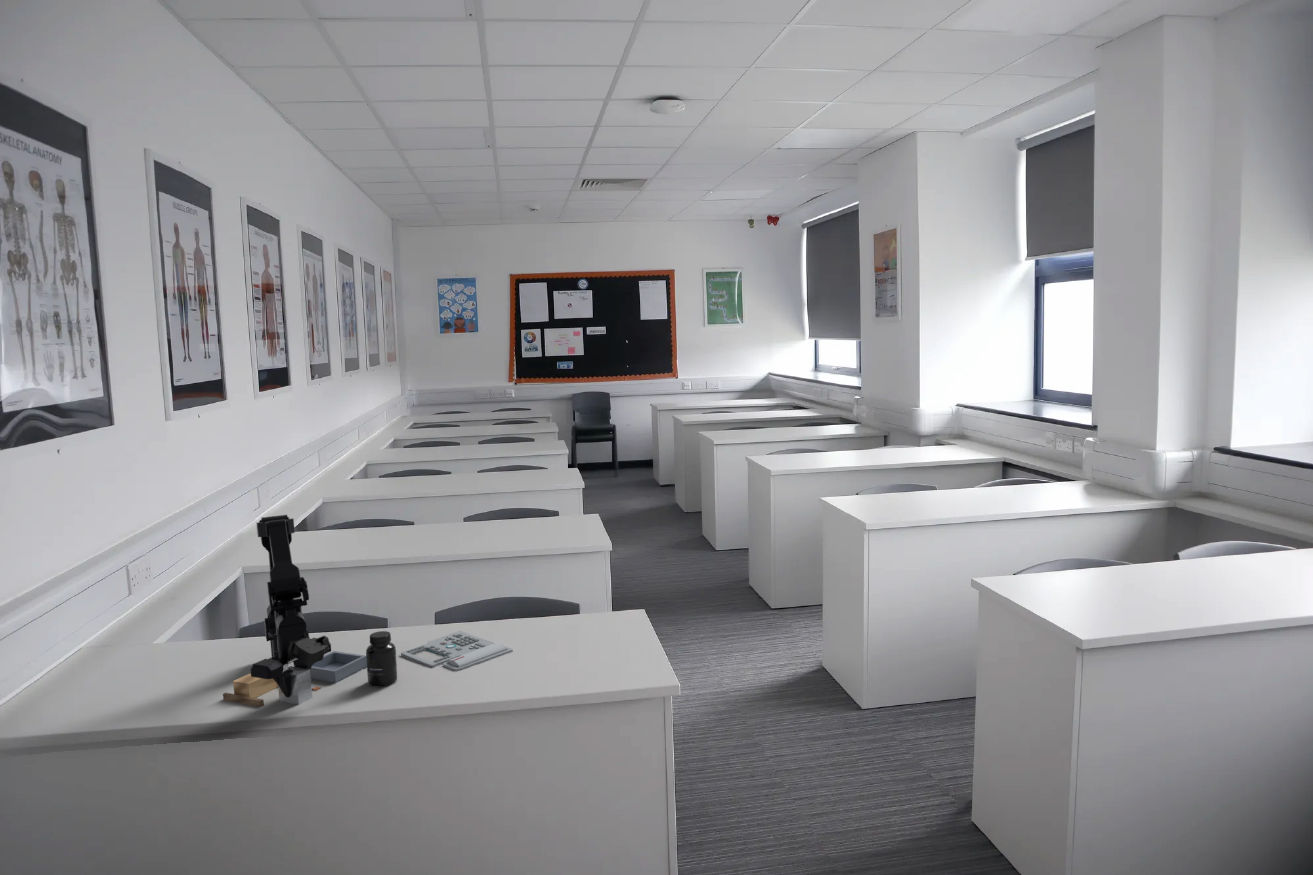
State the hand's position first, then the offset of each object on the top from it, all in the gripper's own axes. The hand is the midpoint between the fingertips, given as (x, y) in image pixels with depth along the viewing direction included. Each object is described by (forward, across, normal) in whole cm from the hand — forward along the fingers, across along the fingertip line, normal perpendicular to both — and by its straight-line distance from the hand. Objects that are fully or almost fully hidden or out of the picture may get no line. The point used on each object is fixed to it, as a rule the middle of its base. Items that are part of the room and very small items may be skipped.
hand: (295, 693), depth 198 cm
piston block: (+1, 0, +12) cm, 13 cm away
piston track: (+1, +1, +8) cm, 8 cm away
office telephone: (+2, +37, -18) cm, 41 cm away
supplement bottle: (+2, +15, -12) cm, 20 cm away
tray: (+2, +16, +4) cm, 16 cm away
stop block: (+2, 0, 0) cm, 2 cm away
